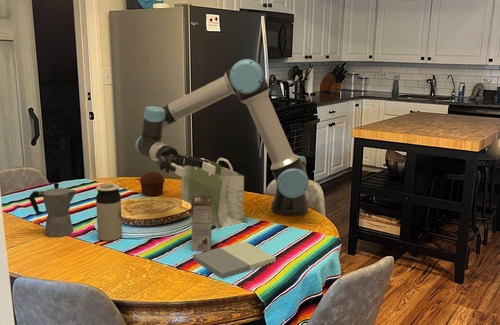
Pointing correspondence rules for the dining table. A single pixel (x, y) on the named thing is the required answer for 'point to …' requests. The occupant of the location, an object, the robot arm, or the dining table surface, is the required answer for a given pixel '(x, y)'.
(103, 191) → the travel mug
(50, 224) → the coffeepot
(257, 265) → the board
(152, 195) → the muffin
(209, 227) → the coffee box
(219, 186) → the grocery bag
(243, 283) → the dining table surface
